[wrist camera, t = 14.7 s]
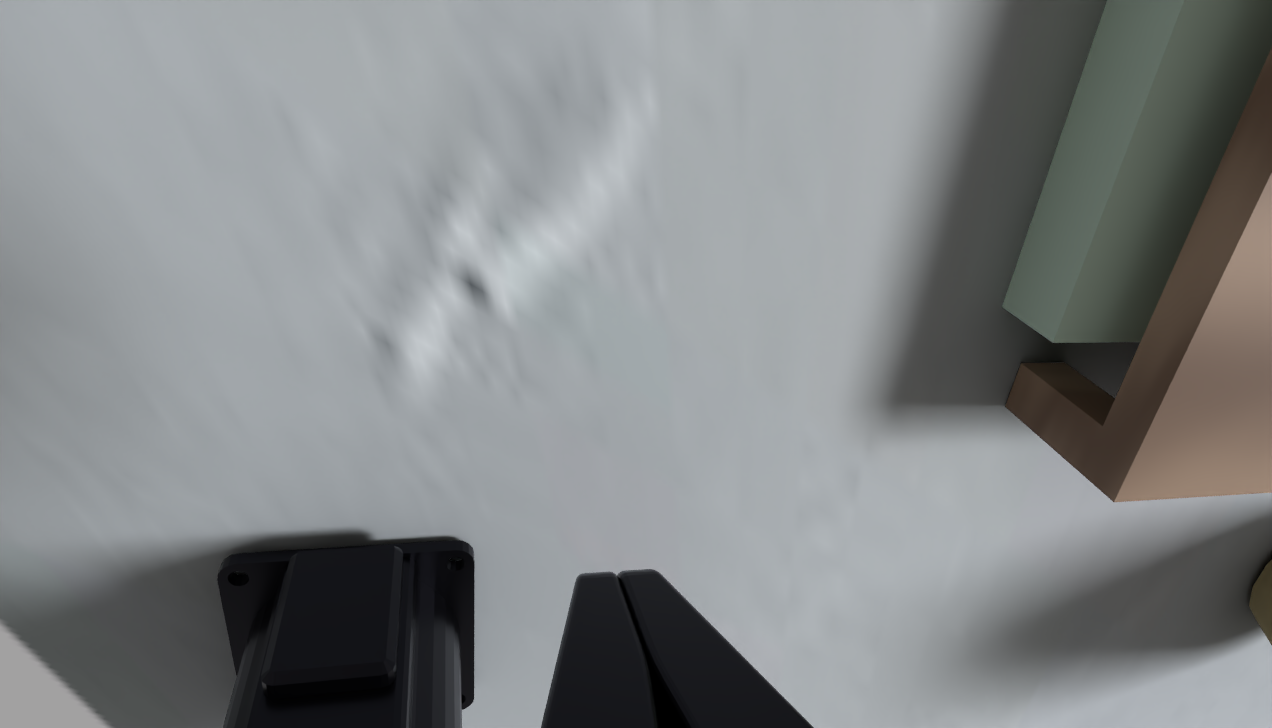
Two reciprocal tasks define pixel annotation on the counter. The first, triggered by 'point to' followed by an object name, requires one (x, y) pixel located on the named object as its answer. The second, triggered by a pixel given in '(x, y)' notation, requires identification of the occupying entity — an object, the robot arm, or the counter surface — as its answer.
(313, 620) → the robot arm
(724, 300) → the counter surface
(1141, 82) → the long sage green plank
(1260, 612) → the squeeze bottle
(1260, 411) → the bench
